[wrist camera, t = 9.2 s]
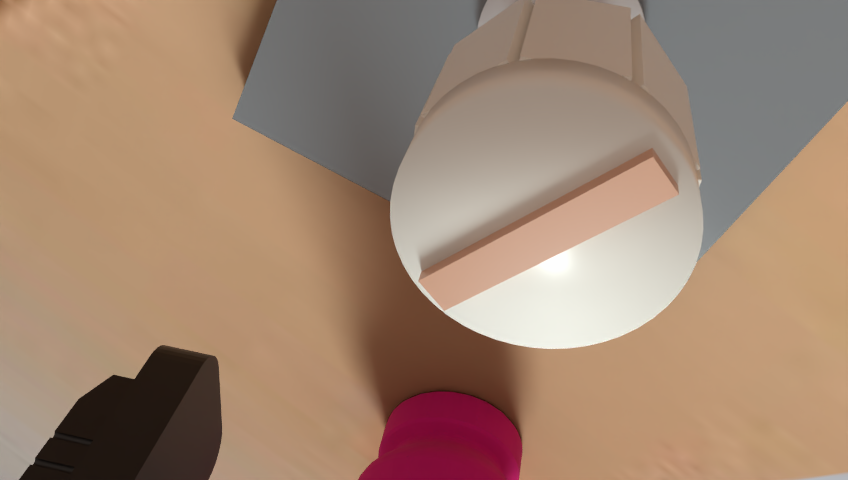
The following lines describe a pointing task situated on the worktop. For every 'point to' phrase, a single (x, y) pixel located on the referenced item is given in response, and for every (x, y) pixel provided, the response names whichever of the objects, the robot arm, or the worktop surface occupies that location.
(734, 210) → the stand
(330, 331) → the worktop surface
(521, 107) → the cap
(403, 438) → the pepper mill
